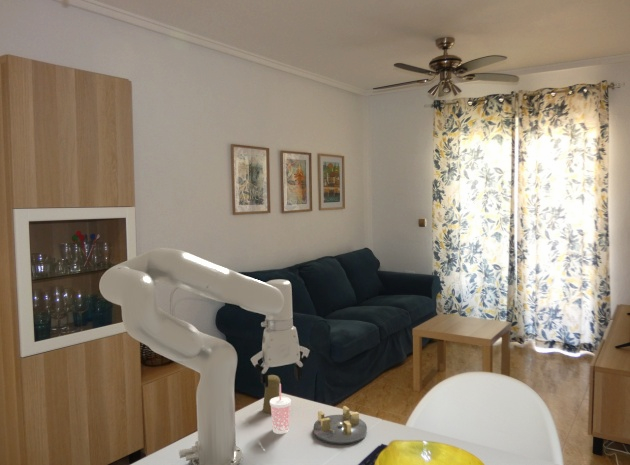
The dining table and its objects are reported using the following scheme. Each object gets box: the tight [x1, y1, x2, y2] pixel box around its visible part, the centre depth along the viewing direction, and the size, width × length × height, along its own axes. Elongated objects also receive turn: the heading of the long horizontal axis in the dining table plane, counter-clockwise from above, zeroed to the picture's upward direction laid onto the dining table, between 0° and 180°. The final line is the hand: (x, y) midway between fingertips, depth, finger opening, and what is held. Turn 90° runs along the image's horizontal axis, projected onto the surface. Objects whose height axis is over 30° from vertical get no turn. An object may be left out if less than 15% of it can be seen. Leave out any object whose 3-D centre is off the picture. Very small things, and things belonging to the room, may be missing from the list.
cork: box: [262, 374, 281, 415], centre depth 159 cm, size 6×6×11 cm
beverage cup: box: [270, 382, 292, 435], centre depth 145 cm, size 6×6×14 cm
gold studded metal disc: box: [313, 405, 368, 446], centre depth 144 cm, size 15×15×5 cm
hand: (281, 382), depth 145 cm, fingers open, 9 cm apart
